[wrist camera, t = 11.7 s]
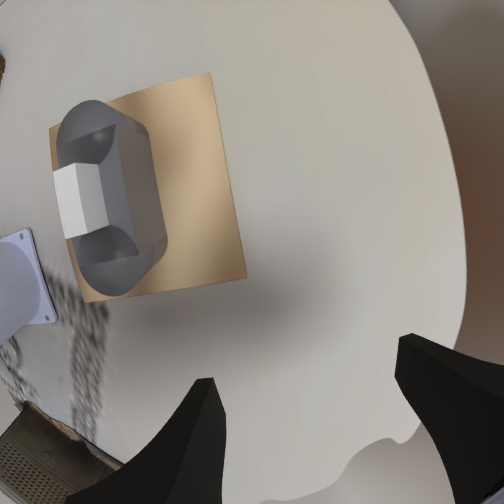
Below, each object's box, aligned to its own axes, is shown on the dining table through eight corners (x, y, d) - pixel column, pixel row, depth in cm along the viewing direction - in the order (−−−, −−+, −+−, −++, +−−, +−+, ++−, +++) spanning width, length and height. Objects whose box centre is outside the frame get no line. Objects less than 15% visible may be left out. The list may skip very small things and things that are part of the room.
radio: (13, 403, 22) (-36, 470, 7) (26, 381, 21) (-38, 463, 6) (143, 497, 26) (127, 570, 12) (177, 489, 25) (165, 577, 11)
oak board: (89, 298, 18) (84, 302, 17) (55, 129, 15) (49, 128, 14) (246, 273, 18) (246, 277, 17) (211, 76, 15) (210, 72, 14)
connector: (124, 270, 17) (70, 317, 10) (97, 129, 15) (30, 109, 8) (173, 261, 17) (135, 310, 10) (146, 112, 15) (93, 76, 8)
